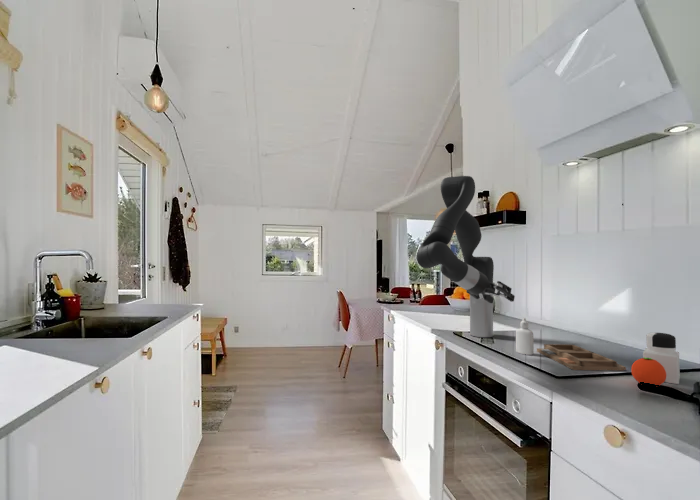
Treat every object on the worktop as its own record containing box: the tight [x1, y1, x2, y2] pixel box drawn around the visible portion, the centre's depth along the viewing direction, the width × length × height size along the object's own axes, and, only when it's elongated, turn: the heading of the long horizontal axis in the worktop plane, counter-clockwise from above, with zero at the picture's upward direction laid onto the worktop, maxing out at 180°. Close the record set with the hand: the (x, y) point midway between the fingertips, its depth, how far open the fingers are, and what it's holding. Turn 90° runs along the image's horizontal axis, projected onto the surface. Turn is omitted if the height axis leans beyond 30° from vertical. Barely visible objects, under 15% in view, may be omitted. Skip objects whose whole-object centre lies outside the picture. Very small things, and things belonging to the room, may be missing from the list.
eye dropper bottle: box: [515, 317, 535, 356], centre depth 126 cm, size 4×6×12 cm
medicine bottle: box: [642, 332, 681, 385], centre depth 100 cm, size 7×7×12 cm
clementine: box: [631, 357, 666, 386], centre depth 94 cm, size 8×7×7 cm
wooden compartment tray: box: [536, 343, 627, 371], centre depth 118 cm, size 22×15×2 cm
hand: (502, 300), depth 126 cm, fingers open, 8 cm apart
